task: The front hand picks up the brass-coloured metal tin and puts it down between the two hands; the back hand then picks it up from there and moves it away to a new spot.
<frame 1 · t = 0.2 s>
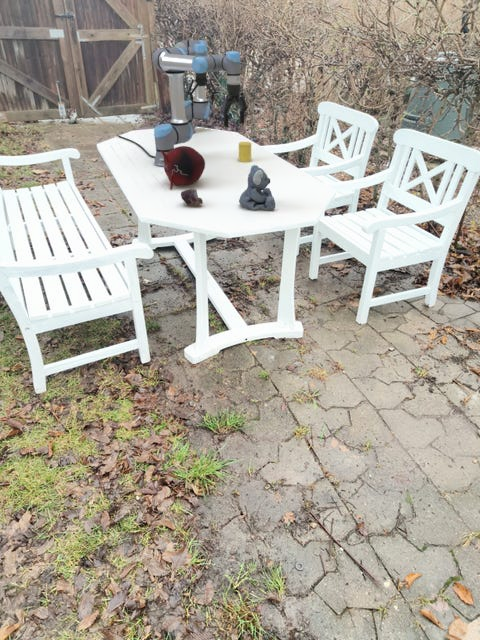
front hand: (234, 125, 260), 28 cm above the table, tool pointing down, fingers open, 13 cm apart
back hand: (202, 105, 315), 28 cm above the table, tool pointing down, fingers open, 13 cm apart
dark red rounded lump: (185, 183, 261), on the table
tin: (244, 160, 300), on the table
koala plush: (256, 206, 229), on the table
rock: (191, 204, 231), on the table
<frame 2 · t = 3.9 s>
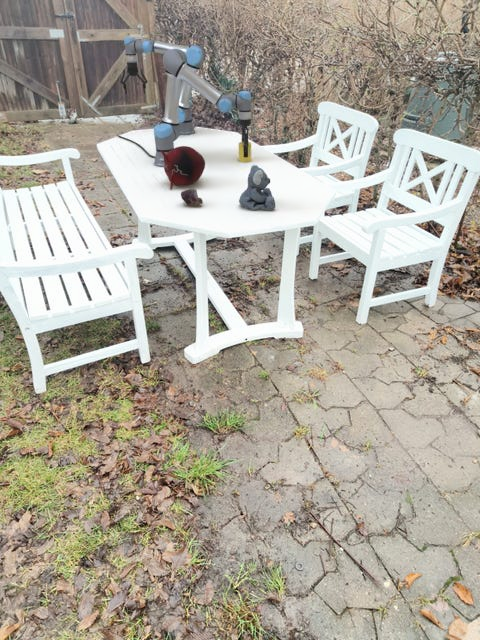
front hand: (244, 155, 298), 3 cm above the table, tool pointing down, fingers closed on tin, 8 cm apart
back hand: (135, 93, 346), 30 cm above the table, tool pointing down, fingers open, 13 cm apart
tin: (244, 160, 300), on the table, touching front hand
everything else where it was.
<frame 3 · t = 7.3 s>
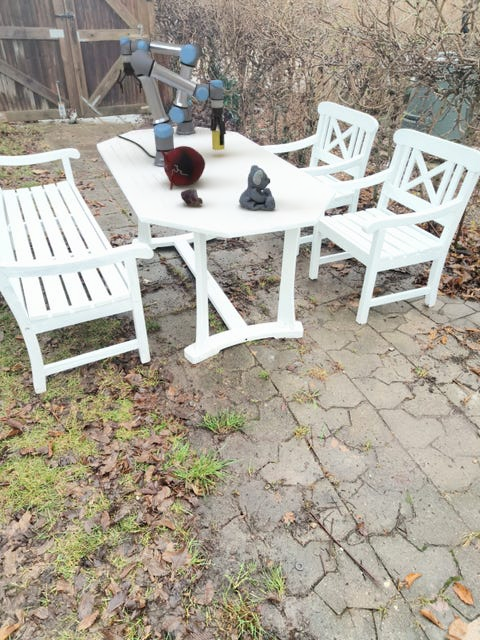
front hand: (218, 143, 304), 8 cm above the table, tool pointing down, fingers closed on tin, 8 cm apart
back hand: (131, 93, 349), 30 cm above the table, tool pointing down, fingers open, 13 cm apart
tin: (218, 148, 306), point 5 cm above the table, touching front hand
everything else where it was.
when the front hand's fingers open (4 cm above the table, at t = 11.2 s): tin drops 1 cm, on the table.
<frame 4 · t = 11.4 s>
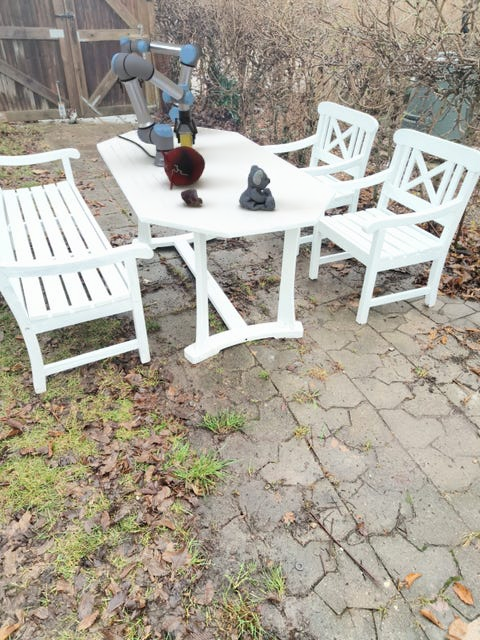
front hand: (186, 143, 318), 5 cm above the table, tool pointing down, fingers open, 10 cm apart
back hand: (131, 93, 349), 30 cm above the table, tool pointing down, fingers open, 13 cm apart
tin: (186, 151, 321), on the table
everything else where it was.
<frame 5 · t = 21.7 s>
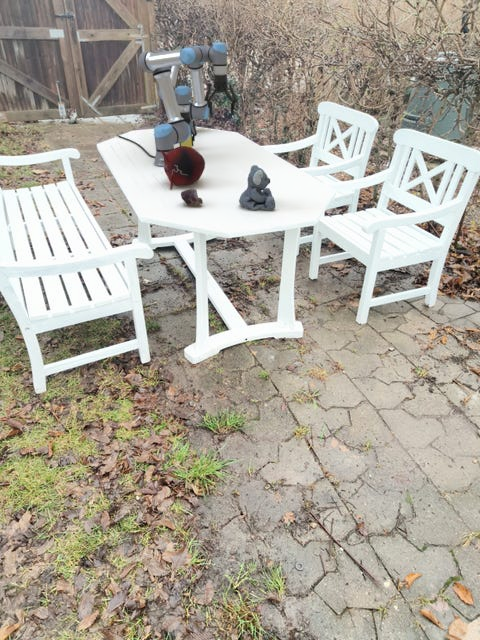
front hand: (221, 114, 268), 31 cm above the table, tool pointing down, fingers open, 13 cm apart
back hand: (186, 146, 319), 3 cm above the table, tool pointing down, fingers closed on tin, 8 cm apart
tin: (186, 151, 321), on the table, touching back hand
everything else where it was.
when the back hand's fingers open (4 cm above the table, at t = 29.9 s): tin drops 1 cm, on the table.
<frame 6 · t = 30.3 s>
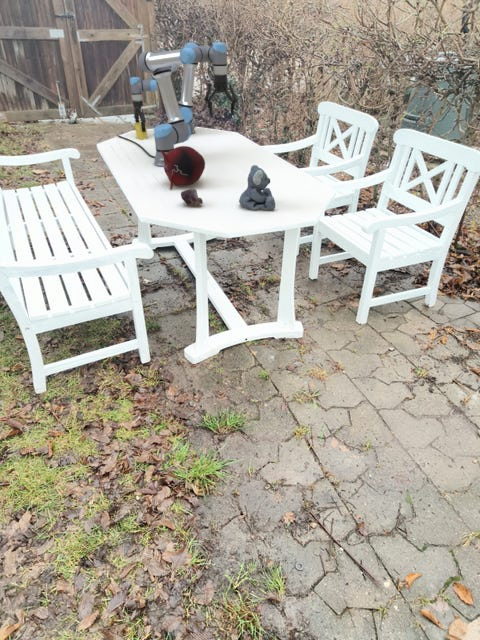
front hand: (221, 114, 268), 31 cm above the table, tool pointing down, fingers open, 13 cm apart
back hand: (141, 130, 352), 6 cm above the table, tool pointing down, fingers open, 13 cm apart
tin: (142, 138, 355), on the table
everything else where it was.
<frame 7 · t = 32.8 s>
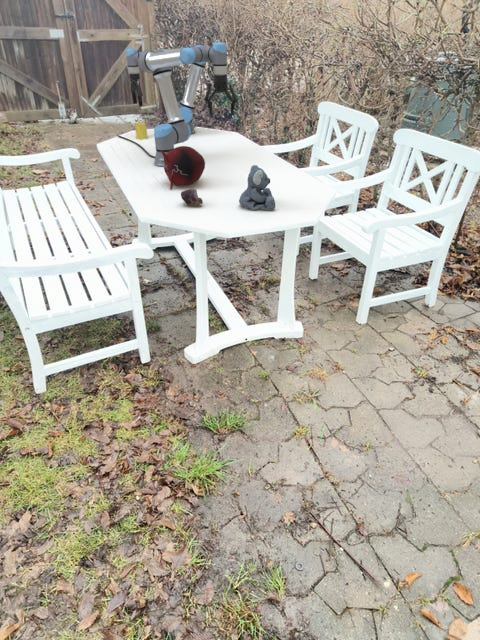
front hand: (221, 114, 268), 31 cm above the table, tool pointing down, fingers open, 13 cm apart
back hand: (138, 104, 342), 24 cm above the table, tool pointing down, fingers open, 13 cm apart
nothing on the table moved.
at the end: tin inside the target area (0.0 cm from its centre), on the table; tin tilted 0°; the two hands never held the tin at the same time; the front hand is holding nothing; the back hand is holding nothing; tin at rest at the end (0.0 cm/s) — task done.
